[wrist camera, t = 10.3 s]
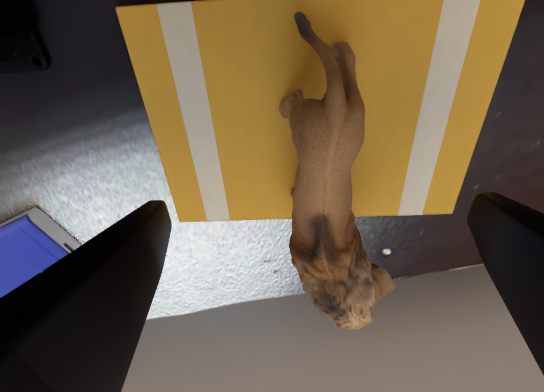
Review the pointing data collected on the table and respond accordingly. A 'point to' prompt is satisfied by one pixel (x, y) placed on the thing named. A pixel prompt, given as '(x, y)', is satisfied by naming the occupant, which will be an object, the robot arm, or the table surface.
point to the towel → (315, 96)
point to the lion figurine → (331, 192)
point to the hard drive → (30, 247)
